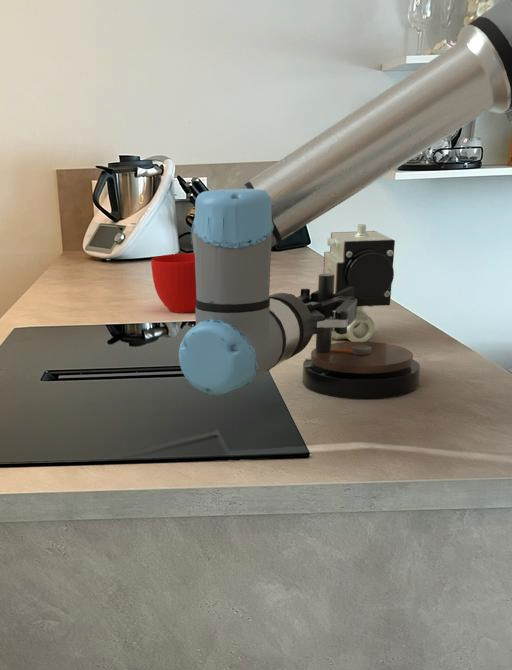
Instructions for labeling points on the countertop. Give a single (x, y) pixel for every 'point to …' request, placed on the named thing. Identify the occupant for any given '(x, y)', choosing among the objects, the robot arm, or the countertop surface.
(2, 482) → the countertop surface
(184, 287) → the ceramic cup
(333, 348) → the pointer wheel
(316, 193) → the robot arm
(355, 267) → the ball valve
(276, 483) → the countertop surface
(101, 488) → the countertop surface
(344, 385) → the disc
